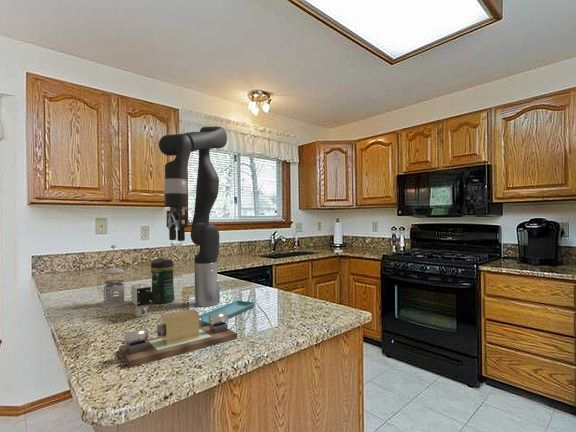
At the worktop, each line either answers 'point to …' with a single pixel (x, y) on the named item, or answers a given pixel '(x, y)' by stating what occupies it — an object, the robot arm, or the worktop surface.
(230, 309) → the rectangular tray
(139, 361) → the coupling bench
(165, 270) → the coffee jar
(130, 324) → the worktop surface
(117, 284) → the french press
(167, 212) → the robot arm
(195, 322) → the coupling block
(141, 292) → the pneumatic valve
